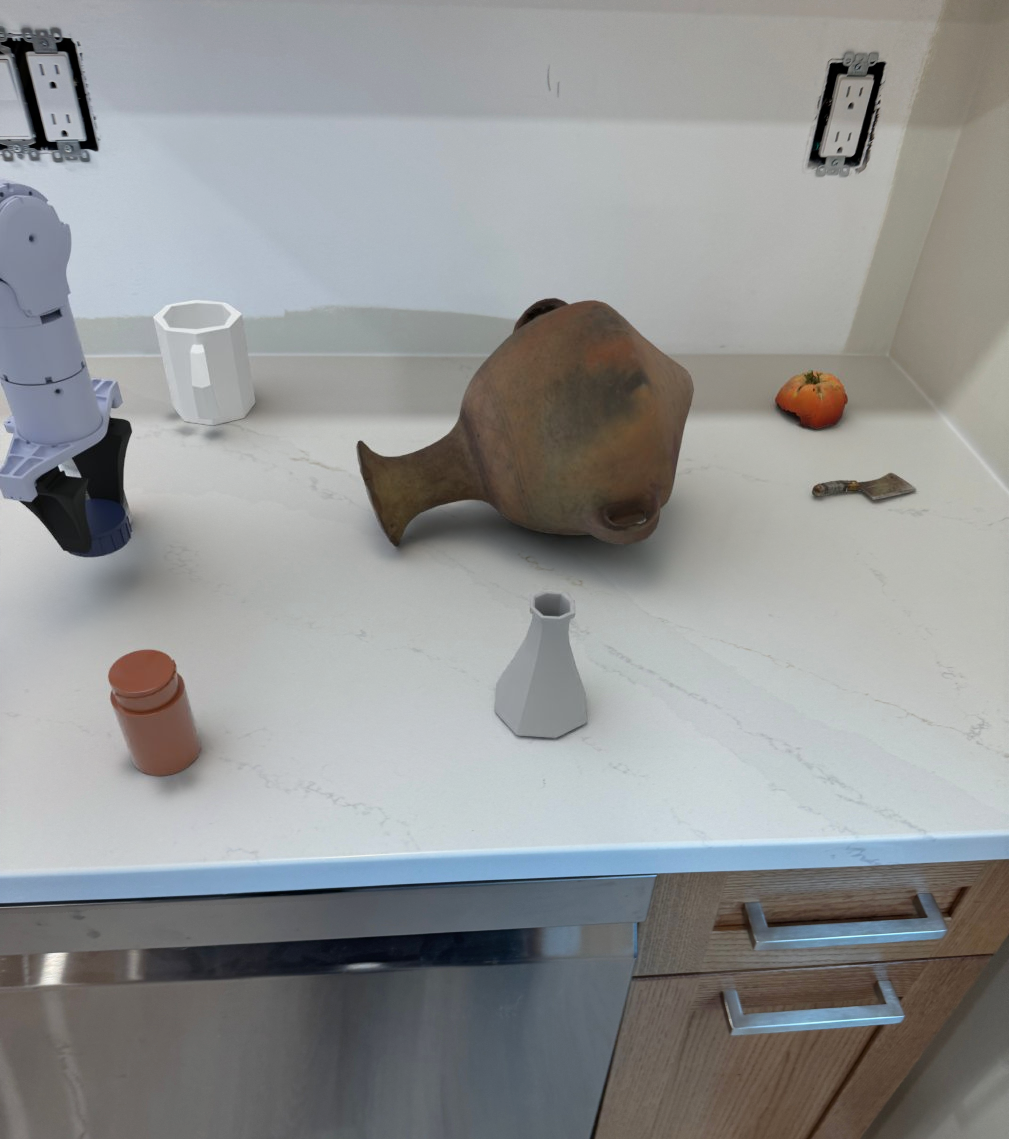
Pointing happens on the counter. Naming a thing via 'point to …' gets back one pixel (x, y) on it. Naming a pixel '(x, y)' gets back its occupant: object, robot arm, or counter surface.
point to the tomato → (814, 398)
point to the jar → (154, 712)
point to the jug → (552, 432)
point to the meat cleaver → (866, 487)
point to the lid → (106, 527)
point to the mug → (205, 361)
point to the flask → (543, 674)
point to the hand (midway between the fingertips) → (94, 528)
